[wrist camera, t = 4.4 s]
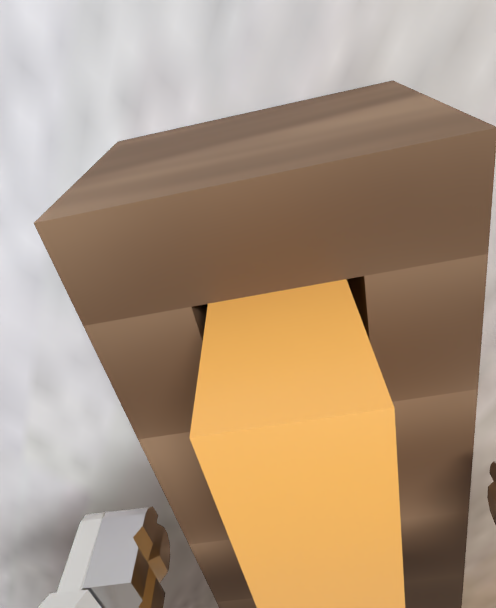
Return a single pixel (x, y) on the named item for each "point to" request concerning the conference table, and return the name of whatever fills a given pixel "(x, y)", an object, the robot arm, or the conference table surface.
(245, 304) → the orange slab
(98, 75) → the conference table surface
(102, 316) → the holder
